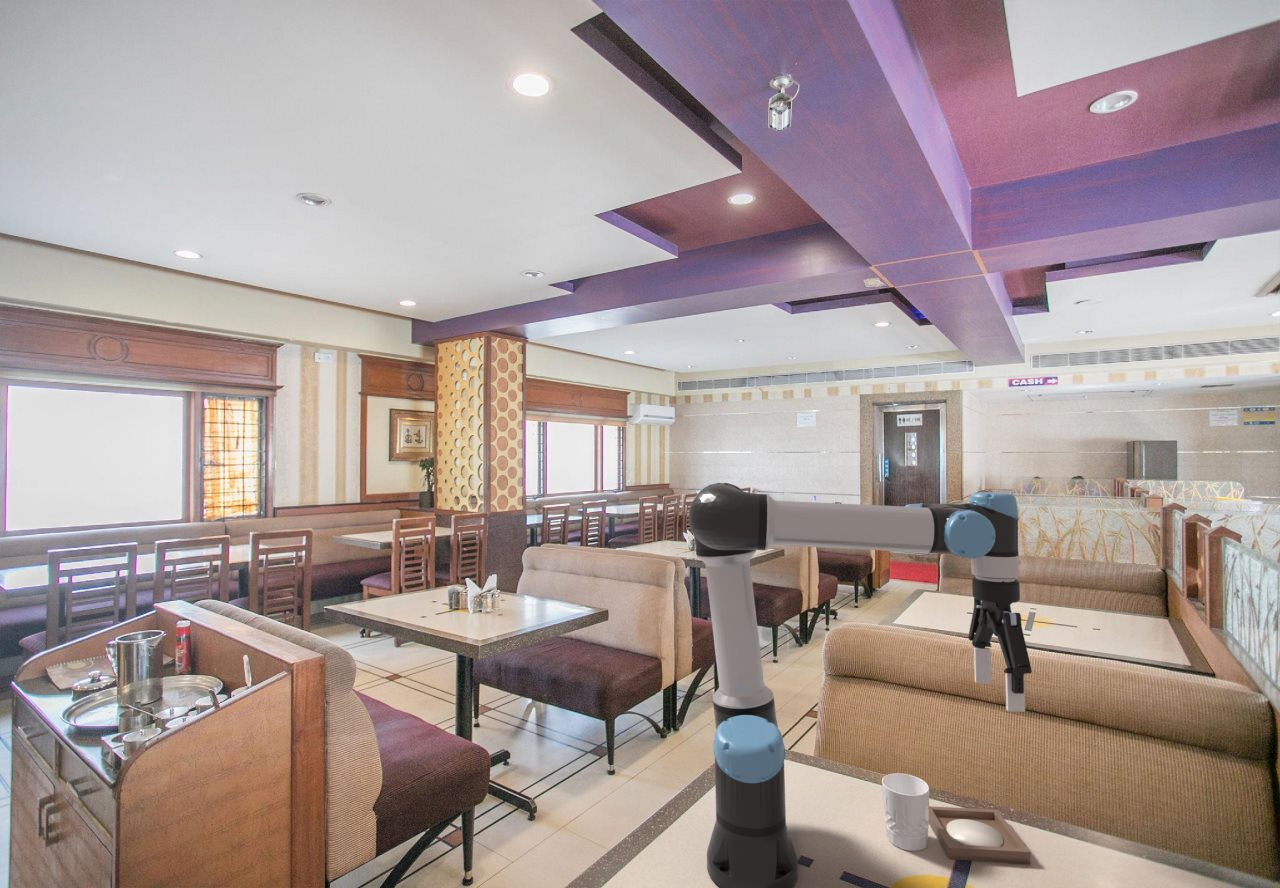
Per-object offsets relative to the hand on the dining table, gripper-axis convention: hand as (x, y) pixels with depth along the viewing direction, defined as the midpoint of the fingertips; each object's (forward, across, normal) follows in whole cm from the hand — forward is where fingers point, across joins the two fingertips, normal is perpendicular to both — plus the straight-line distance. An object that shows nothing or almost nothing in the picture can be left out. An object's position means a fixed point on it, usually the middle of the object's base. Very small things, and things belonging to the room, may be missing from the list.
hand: (998, 696), depth 114 cm
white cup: (+26, -2, +17) cm, 31 cm away
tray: (+26, 0, +5) cm, 26 cm away
